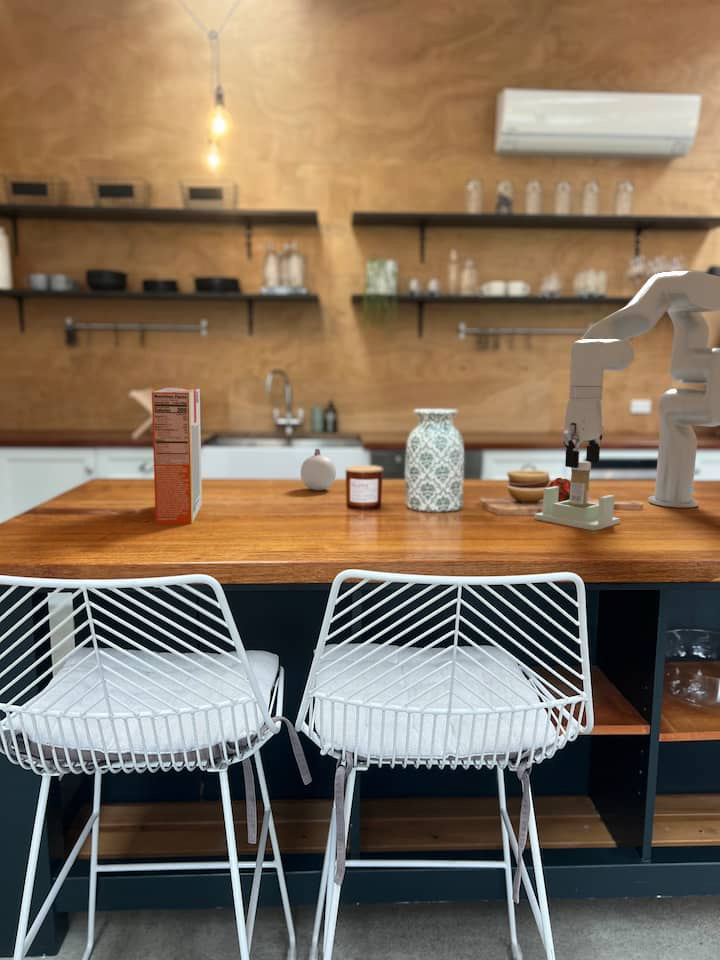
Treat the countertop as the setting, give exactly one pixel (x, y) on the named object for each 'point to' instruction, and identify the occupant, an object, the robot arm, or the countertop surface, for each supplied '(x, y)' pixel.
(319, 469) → the ornament
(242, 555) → the countertop surface
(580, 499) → the sprinkles bottle
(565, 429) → the robot arm
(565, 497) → the dragon fruit
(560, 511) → the caddy
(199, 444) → the orange cereal box
